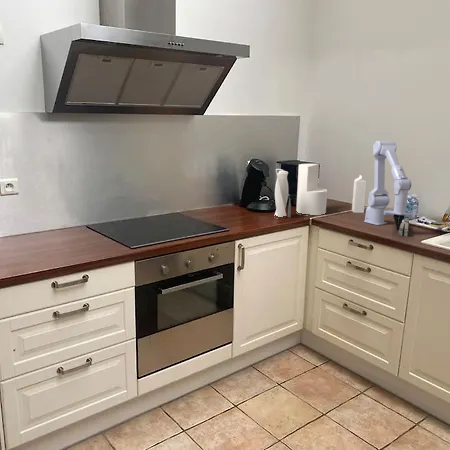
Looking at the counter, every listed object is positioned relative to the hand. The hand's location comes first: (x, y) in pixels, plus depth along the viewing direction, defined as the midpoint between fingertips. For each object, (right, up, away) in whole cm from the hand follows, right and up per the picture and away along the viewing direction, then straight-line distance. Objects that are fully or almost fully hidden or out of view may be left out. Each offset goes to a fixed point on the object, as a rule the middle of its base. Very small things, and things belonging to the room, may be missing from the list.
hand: (397, 229), depth 229 cm
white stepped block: (-35, +10, +44) cm, 57 cm away
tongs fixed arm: (+5, 0, +5) cm, 7 cm away
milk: (-6, +10, +47) cm, 49 cm away
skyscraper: (-55, +6, +30) cm, 63 cm away
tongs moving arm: (+4, 0, +4) cm, 5 cm away
